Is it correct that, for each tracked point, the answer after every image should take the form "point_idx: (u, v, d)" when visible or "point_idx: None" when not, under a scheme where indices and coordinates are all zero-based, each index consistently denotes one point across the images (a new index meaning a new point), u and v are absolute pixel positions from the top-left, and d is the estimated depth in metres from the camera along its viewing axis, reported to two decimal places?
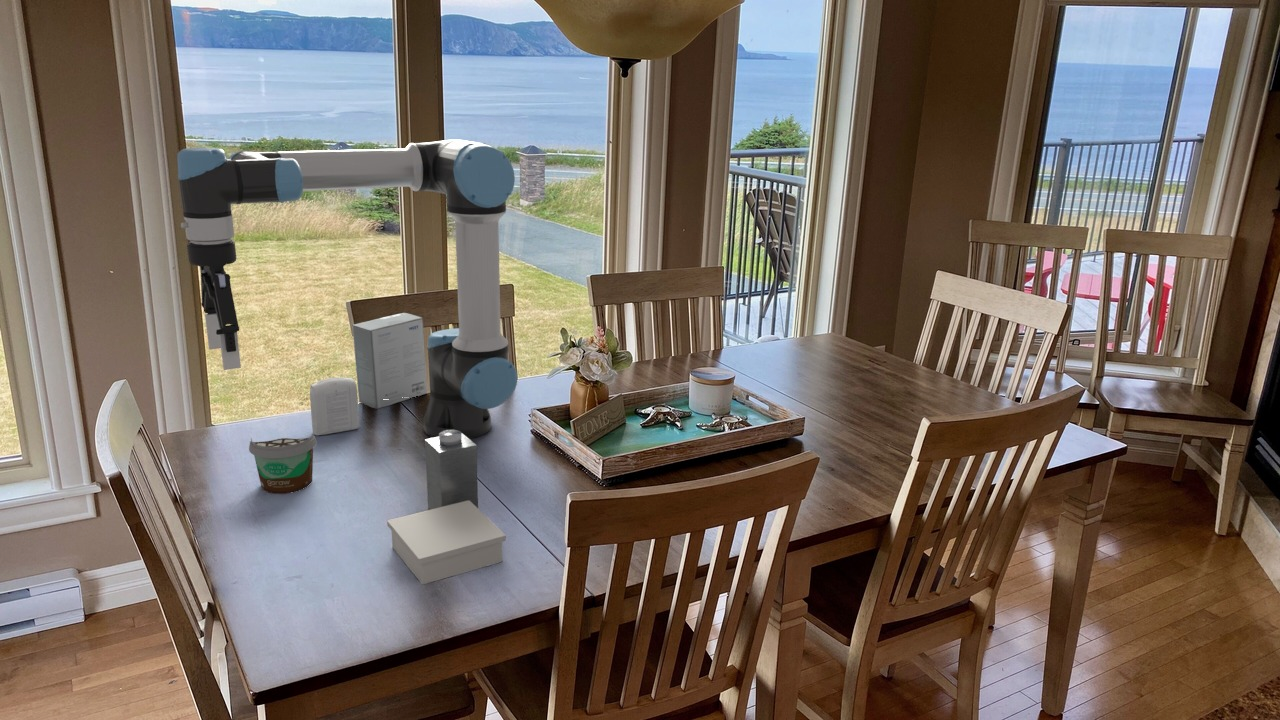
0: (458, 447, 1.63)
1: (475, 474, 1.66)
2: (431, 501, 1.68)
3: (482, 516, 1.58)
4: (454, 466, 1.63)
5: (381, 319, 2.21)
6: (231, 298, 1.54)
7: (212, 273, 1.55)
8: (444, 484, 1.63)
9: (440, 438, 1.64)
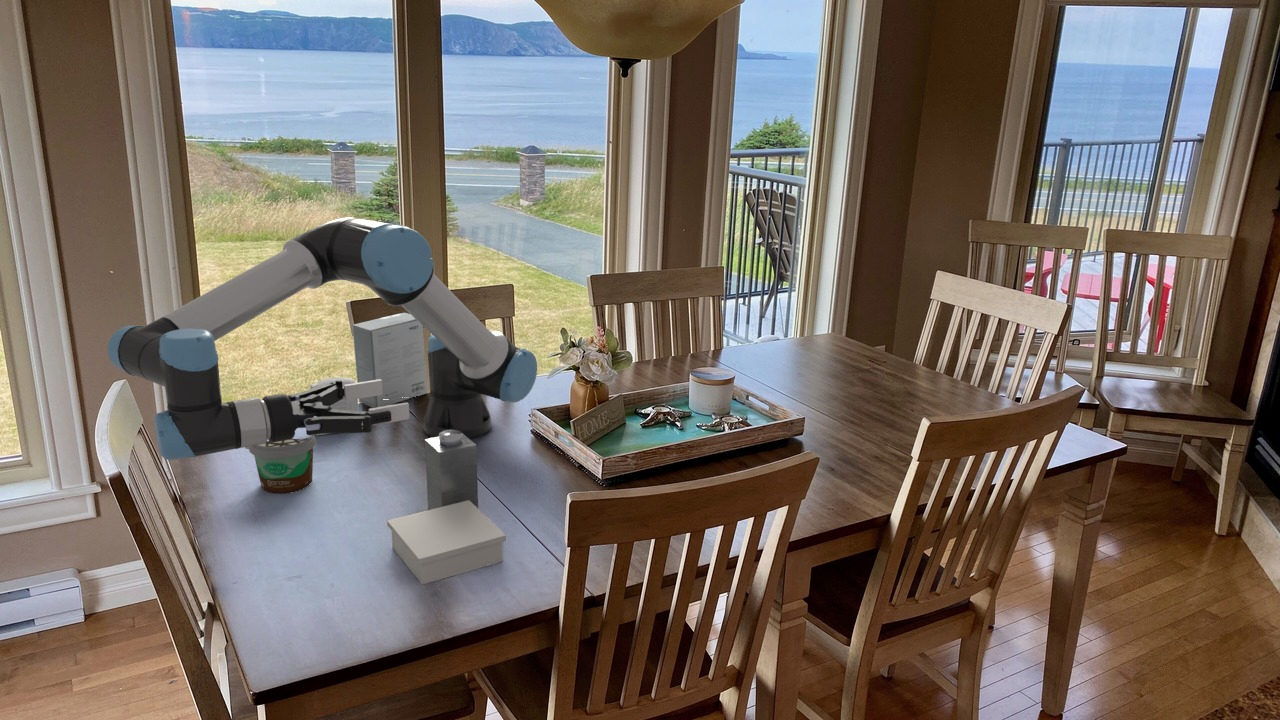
0: (458, 447, 1.63)
1: (475, 474, 1.66)
2: (431, 501, 1.68)
3: (482, 516, 1.58)
4: (454, 466, 1.63)
5: (381, 319, 2.21)
6: (333, 420, 1.44)
7: (303, 427, 1.46)
8: (444, 484, 1.63)
9: (440, 438, 1.64)
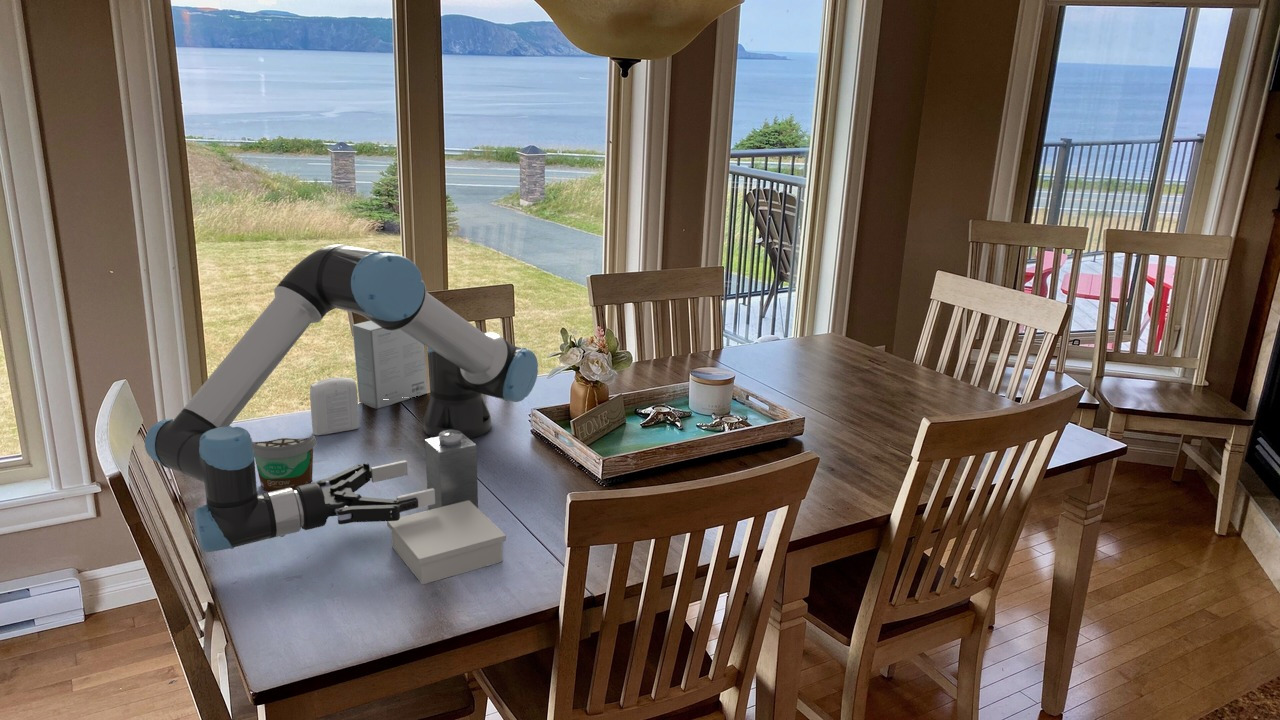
0: (457, 447, 1.63)
1: (475, 474, 1.66)
2: None
3: (482, 516, 1.58)
4: (454, 465, 1.63)
5: None
6: (363, 510, 1.51)
7: (334, 515, 1.52)
8: (444, 484, 1.63)
9: (440, 438, 1.64)
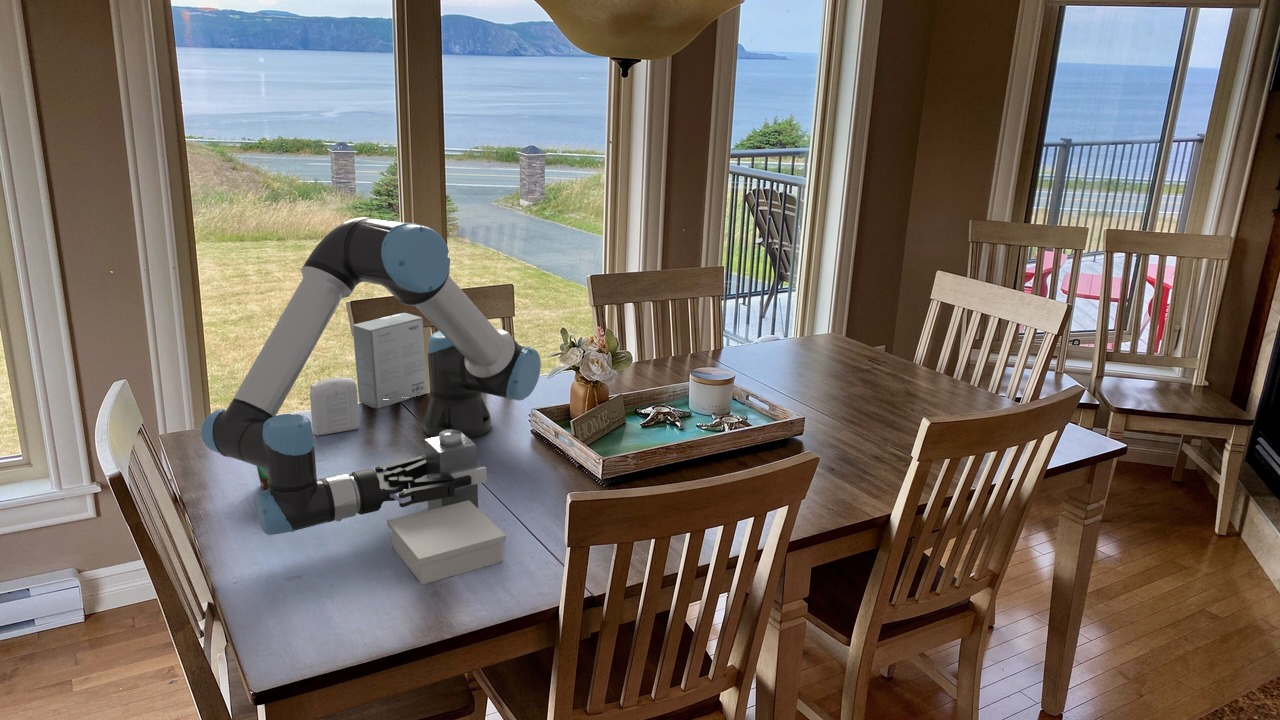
0: (458, 447, 1.63)
1: None
2: (431, 501, 1.68)
3: (482, 516, 1.58)
4: (454, 465, 1.63)
5: (381, 319, 2.21)
6: (423, 490, 1.58)
7: (391, 500, 1.58)
8: None
9: (440, 438, 1.64)
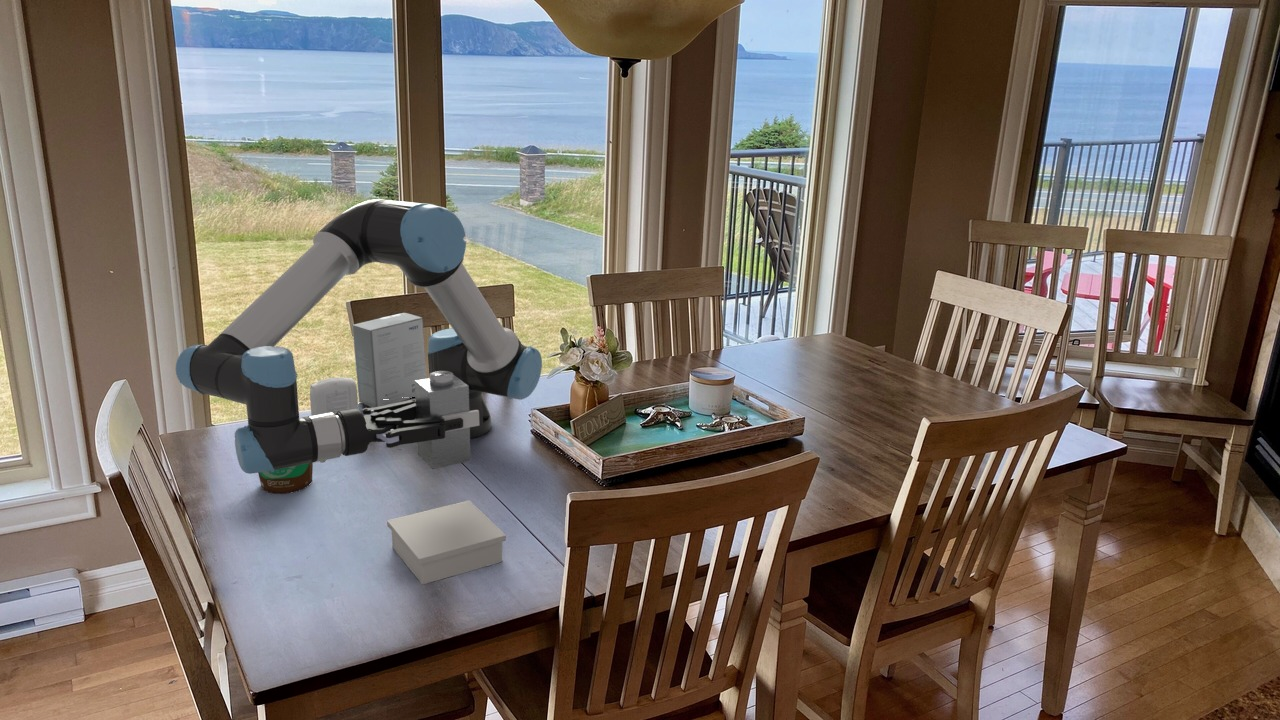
0: (449, 387, 1.55)
1: None
2: (421, 446, 1.60)
3: (482, 516, 1.58)
4: (445, 407, 1.55)
5: (381, 319, 2.21)
6: (412, 430, 1.50)
7: (378, 441, 1.50)
8: None
9: (430, 378, 1.56)
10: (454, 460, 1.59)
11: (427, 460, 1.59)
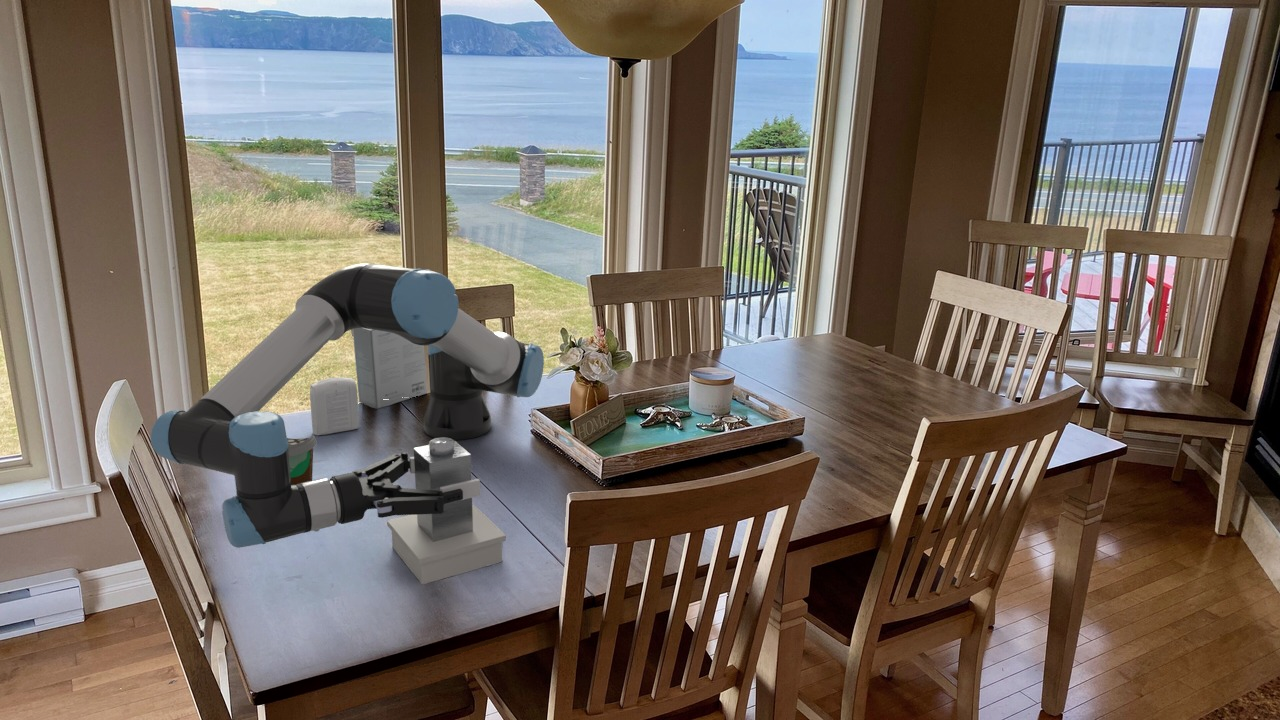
0: (450, 457, 1.47)
1: None
2: (421, 516, 1.52)
3: (482, 516, 1.58)
4: (446, 477, 1.47)
5: None
6: (405, 502, 1.39)
7: (373, 508, 1.41)
8: None
9: (430, 447, 1.48)
10: (456, 531, 1.51)
11: (427, 532, 1.50)
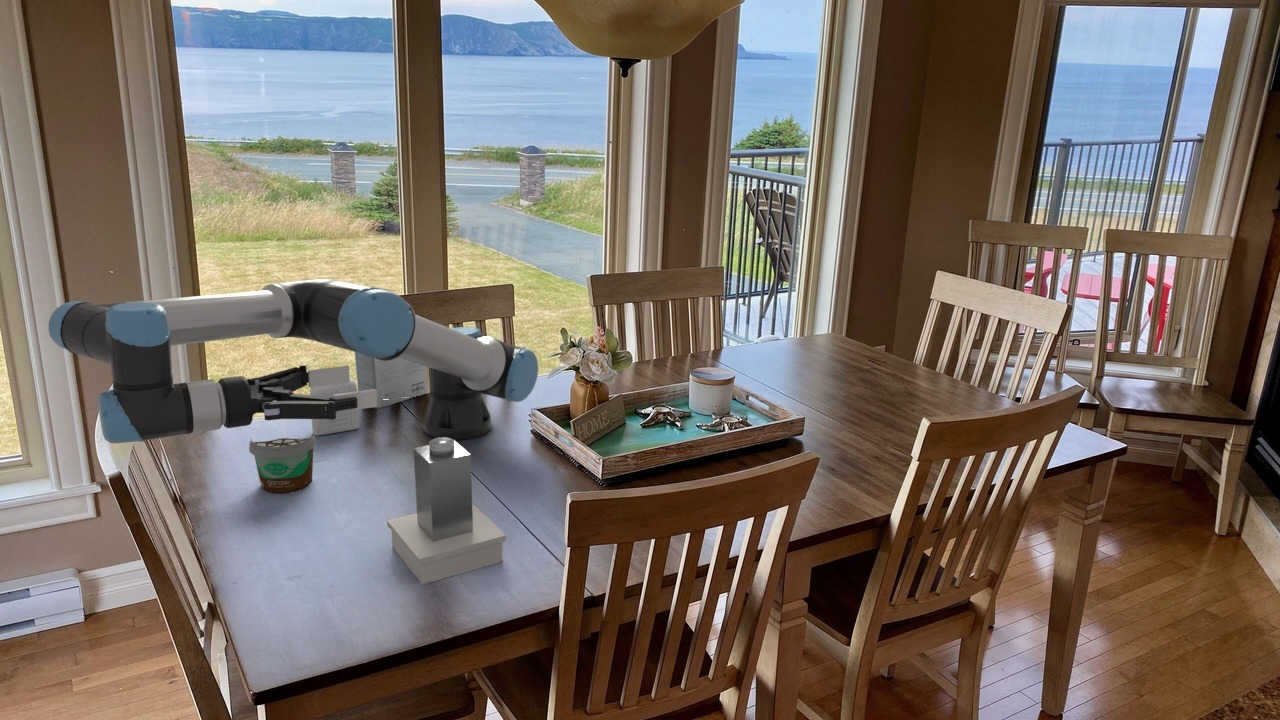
0: (450, 457, 1.47)
1: (469, 487, 1.50)
2: (421, 516, 1.52)
3: (482, 516, 1.58)
4: (446, 477, 1.47)
5: None
6: (294, 405, 1.34)
7: (261, 412, 1.36)
8: (434, 498, 1.47)
9: (430, 447, 1.48)
10: (456, 531, 1.51)
11: (427, 532, 1.50)
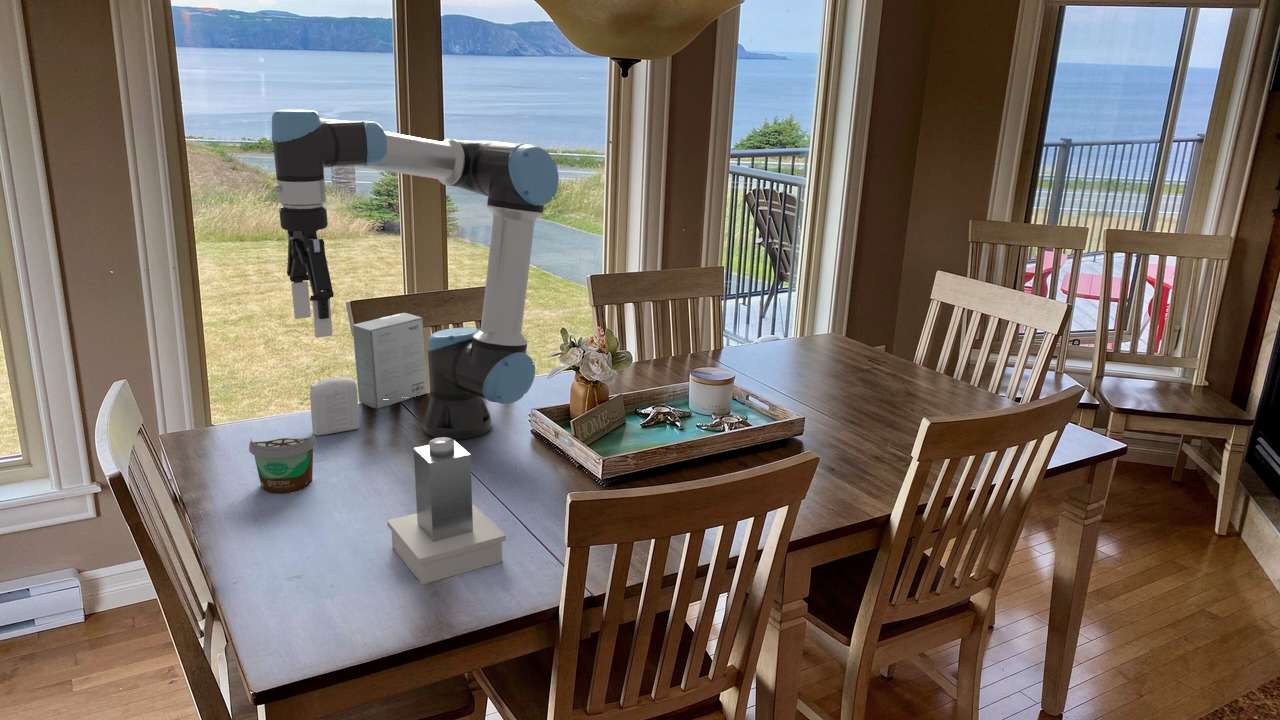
0: (450, 457, 1.47)
1: (469, 487, 1.50)
2: (421, 516, 1.52)
3: (482, 516, 1.58)
4: (446, 477, 1.47)
5: (381, 319, 2.21)
6: (325, 263, 1.51)
7: (305, 238, 1.52)
8: (434, 498, 1.47)
9: (430, 447, 1.48)
10: (456, 531, 1.51)
11: (427, 532, 1.50)
